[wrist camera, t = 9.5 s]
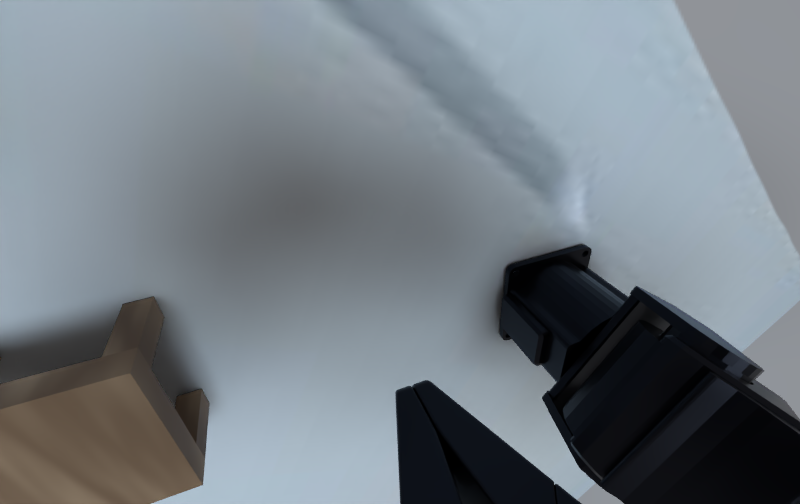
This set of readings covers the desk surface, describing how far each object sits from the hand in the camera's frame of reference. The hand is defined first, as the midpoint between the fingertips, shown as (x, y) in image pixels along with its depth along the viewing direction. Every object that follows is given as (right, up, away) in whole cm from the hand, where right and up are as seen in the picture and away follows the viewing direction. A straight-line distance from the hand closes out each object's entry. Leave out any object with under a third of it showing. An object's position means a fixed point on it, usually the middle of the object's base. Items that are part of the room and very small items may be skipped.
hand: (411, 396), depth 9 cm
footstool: (-11, -3, +9) cm, 15 cm away
